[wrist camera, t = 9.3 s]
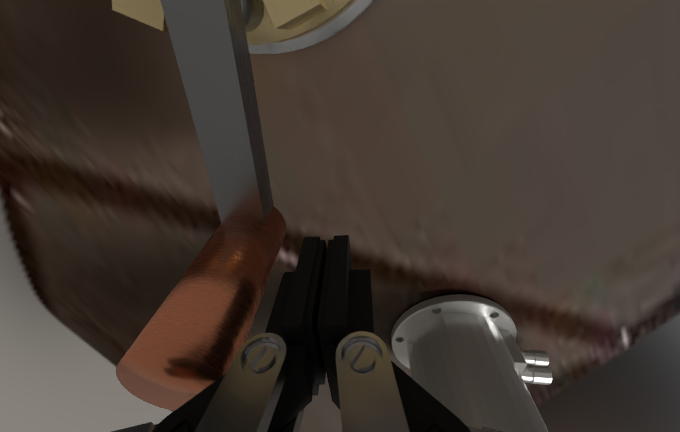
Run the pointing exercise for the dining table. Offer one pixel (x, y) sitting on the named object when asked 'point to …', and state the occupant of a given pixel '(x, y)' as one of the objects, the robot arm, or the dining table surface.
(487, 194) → the dining table surface
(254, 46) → the plate
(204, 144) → the crank handle mechanism
